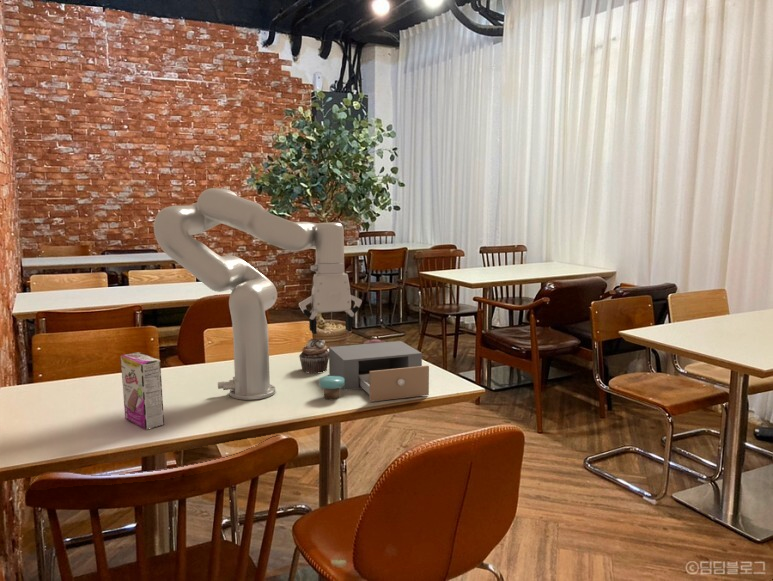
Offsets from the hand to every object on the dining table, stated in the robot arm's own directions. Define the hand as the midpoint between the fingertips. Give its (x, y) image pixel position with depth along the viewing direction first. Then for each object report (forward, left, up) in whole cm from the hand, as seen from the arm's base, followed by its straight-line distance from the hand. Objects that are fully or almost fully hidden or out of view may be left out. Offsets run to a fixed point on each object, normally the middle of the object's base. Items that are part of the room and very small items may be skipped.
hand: (331, 331), depth 164 cm
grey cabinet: (+17, +13, -18) cm, 28 cm away
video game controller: (+26, +39, -19) cm, 50 cm away
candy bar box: (-48, -3, -19) cm, 52 cm away
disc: (0, 0, -15) cm, 15 cm away
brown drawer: (+17, 0, -18) cm, 25 cm away
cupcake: (+2, +29, -19) cm, 35 cm away
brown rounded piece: (0, 0, -18) cm, 18 cm away
